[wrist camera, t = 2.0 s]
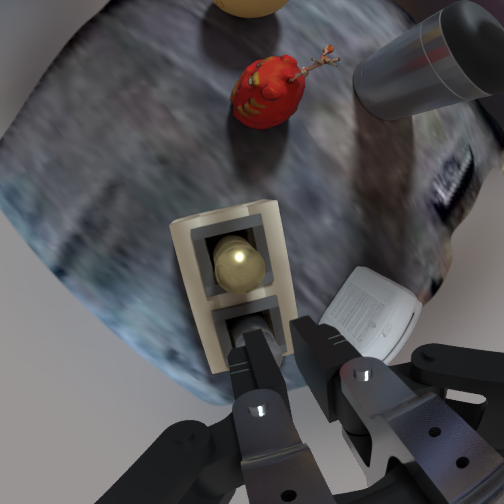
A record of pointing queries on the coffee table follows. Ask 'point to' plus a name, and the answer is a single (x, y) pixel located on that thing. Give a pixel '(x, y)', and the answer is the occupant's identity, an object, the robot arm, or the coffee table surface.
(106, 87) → the coffee table surface
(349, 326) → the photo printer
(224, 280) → the peg brass
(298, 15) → the coffee table surface
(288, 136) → the coffee table surface
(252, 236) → the birch block
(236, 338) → the peg steel
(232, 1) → the stress ball
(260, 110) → the red clay folk toy
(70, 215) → the coffee table surface
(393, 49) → the robot arm
